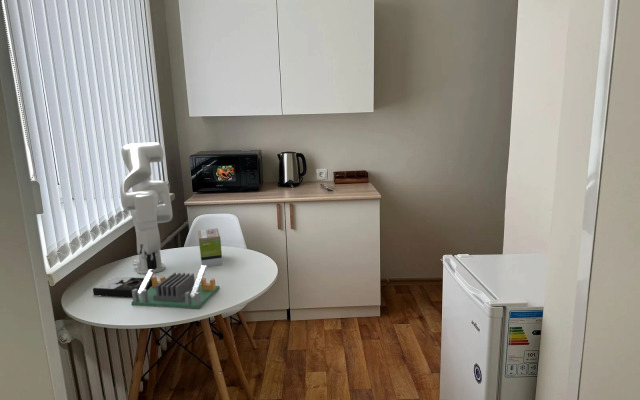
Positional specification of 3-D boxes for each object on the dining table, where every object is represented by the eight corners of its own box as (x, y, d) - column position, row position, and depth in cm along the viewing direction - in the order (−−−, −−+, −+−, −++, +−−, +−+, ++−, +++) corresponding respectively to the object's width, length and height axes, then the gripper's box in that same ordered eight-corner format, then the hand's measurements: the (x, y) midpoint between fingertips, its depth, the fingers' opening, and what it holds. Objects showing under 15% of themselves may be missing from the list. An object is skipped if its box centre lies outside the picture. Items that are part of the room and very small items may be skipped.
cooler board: (131, 304, 168) (129, 287, 167) (158, 285, 186) (156, 269, 185) (199, 308, 163) (197, 290, 161) (219, 288, 181) (218, 272, 180)
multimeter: (135, 299, 174) (133, 287, 173) (93, 296, 178) (91, 285, 177) (153, 286, 187) (152, 275, 186) (114, 284, 191) (112, 273, 190)
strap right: (189, 298, 164) (188, 297, 163) (202, 266, 174) (201, 265, 173) (195, 299, 164) (194, 297, 163) (207, 267, 174) (206, 265, 173)
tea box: (200, 258, 220) (197, 229, 217) (220, 255, 223) (218, 227, 220) (201, 267, 206) (198, 237, 203) (223, 265, 209) (220, 235, 206)
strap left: (137, 296, 168) (135, 294, 168) (152, 266, 179) (151, 264, 178) (142, 296, 168) (141, 294, 167) (157, 266, 178) (156, 264, 178)
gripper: (149, 220, 180) (154, 262, 184) (127, 229, 166) (132, 275, 169) (166, 220, 179) (170, 263, 182) (145, 229, 165) (150, 275, 168)
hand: (152, 268), depth 176 cm, fingers closed
